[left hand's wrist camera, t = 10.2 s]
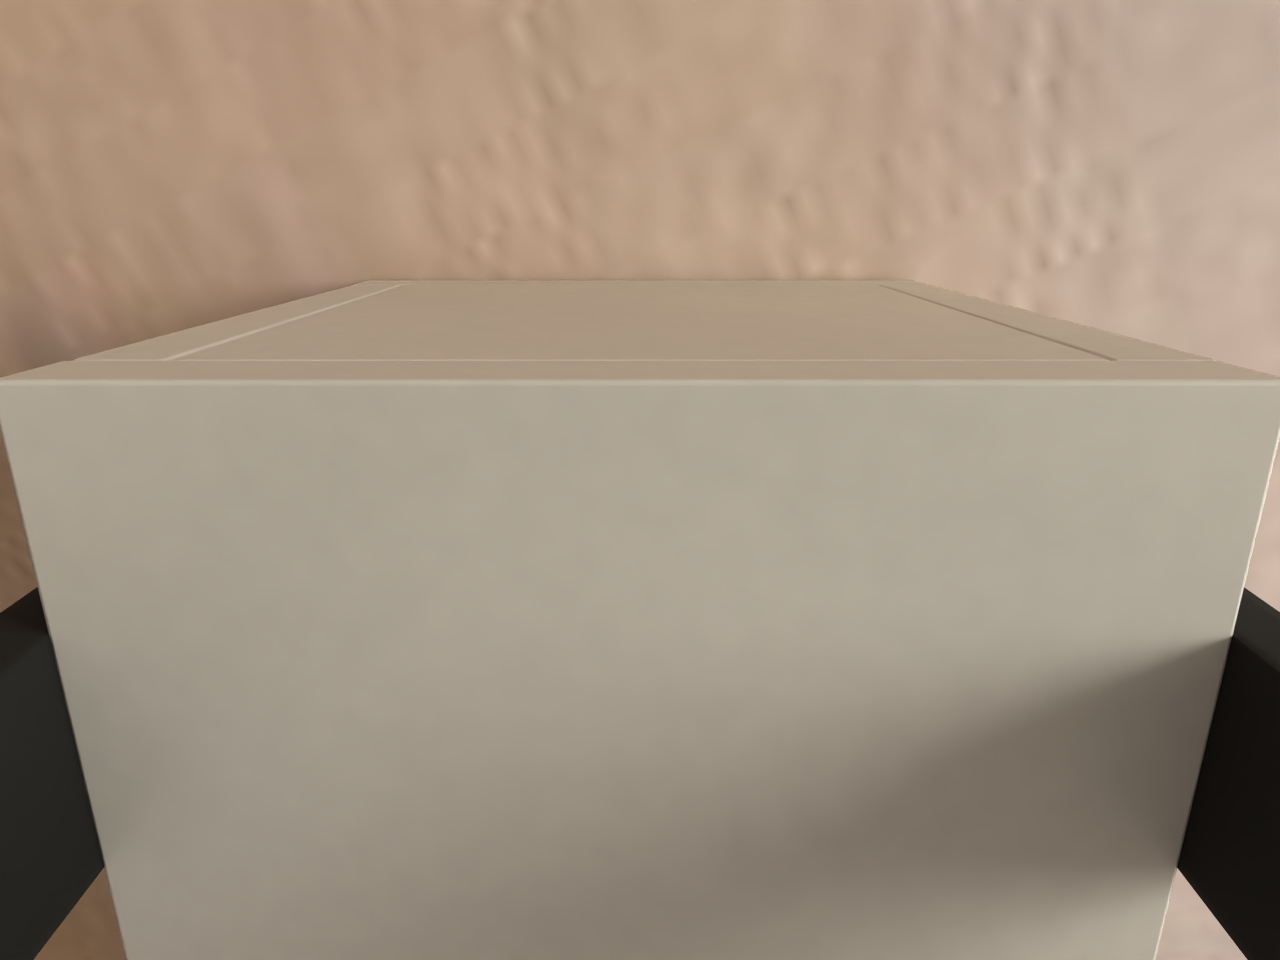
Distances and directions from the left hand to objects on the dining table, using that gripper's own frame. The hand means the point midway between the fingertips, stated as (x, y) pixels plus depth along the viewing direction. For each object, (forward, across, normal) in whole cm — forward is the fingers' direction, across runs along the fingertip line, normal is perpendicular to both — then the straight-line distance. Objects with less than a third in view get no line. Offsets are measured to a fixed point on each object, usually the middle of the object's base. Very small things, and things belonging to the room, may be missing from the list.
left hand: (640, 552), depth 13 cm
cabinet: (+6, 0, -6) cm, 8 cm away
